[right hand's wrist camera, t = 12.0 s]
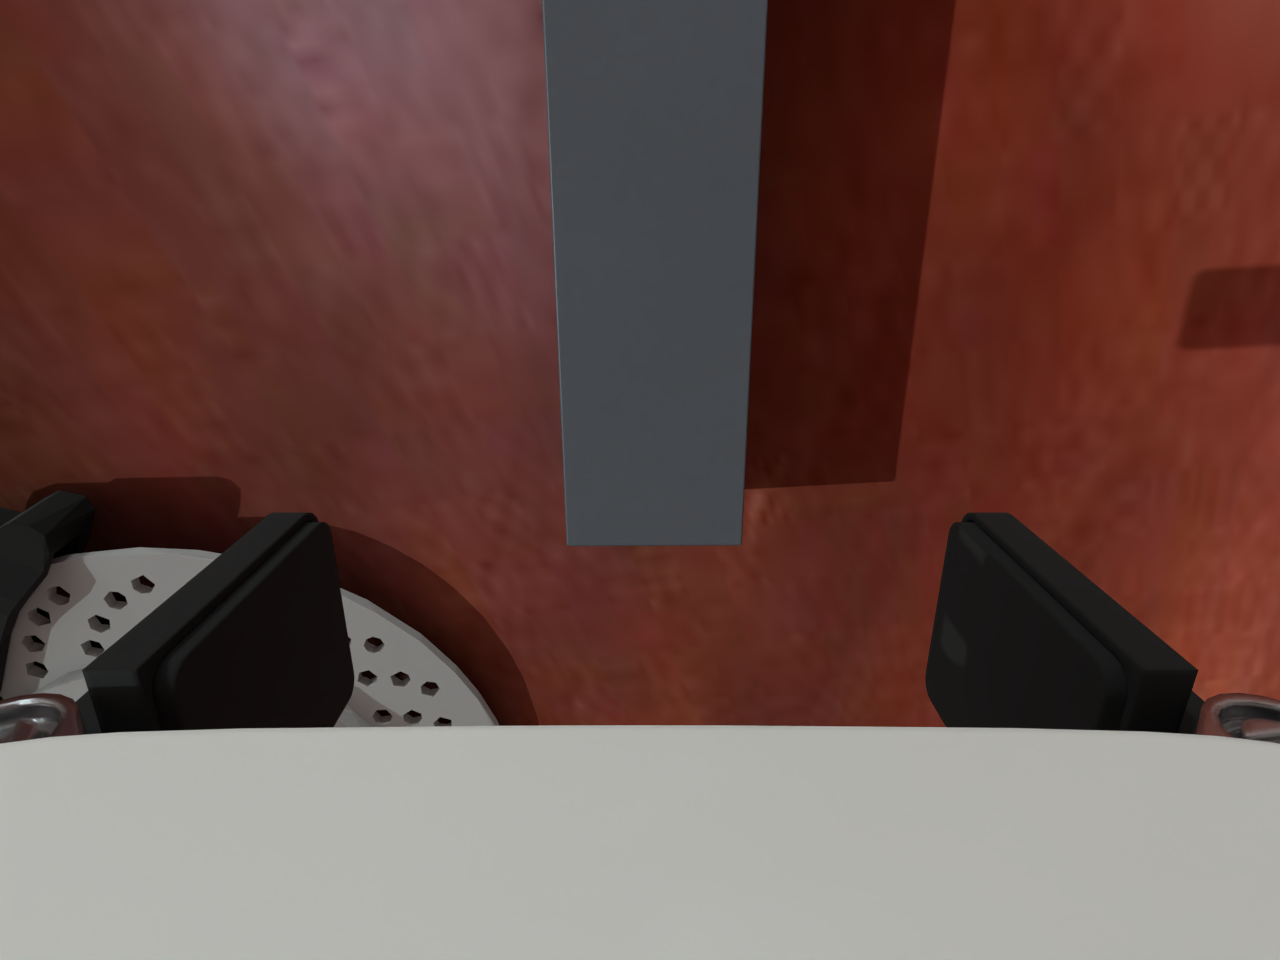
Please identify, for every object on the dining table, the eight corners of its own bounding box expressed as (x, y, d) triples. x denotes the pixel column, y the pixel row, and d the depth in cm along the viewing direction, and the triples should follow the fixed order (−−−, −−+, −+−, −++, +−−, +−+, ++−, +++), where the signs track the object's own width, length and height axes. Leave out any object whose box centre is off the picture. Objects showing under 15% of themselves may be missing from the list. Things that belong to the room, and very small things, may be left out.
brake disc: (-196, 829, 38) (-306, 913, 34) (-9, 367, 30) (-124, 398, 25) (355, 1052, 45) (324, 1147, 41) (634, 731, 36) (634, 806, 32)
